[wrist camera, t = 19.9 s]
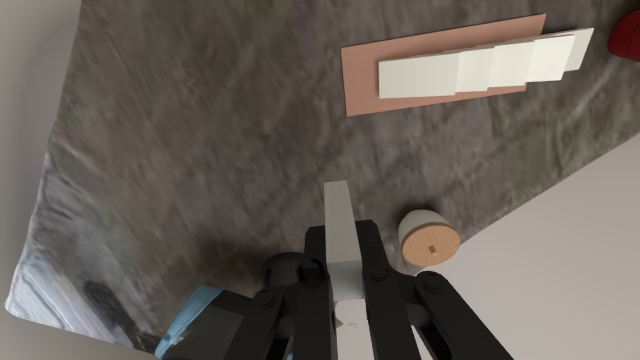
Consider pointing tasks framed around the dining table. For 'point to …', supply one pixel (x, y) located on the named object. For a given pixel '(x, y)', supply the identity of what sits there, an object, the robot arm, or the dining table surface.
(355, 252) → the robot arm
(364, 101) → the strip
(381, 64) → the domino
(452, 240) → the lidded jar
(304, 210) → the dining table surface
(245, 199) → the dining table surface
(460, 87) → the domino
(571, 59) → the domino
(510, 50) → the domino
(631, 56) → the plastic cup
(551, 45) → the domino
